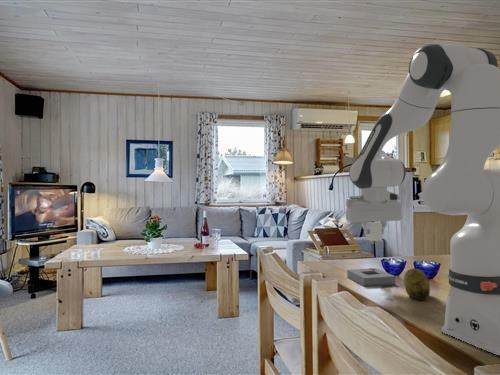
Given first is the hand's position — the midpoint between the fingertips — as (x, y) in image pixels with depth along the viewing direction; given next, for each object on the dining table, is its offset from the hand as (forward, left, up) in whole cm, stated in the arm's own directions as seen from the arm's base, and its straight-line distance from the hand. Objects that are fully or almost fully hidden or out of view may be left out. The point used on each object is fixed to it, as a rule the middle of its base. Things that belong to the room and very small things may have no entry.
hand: (373, 233), depth 135 cm
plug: (0, 0, -3) cm, 3 cm away
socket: (+5, -1, -18) cm, 19 cm away
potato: (-16, -6, -18) cm, 25 cm away
